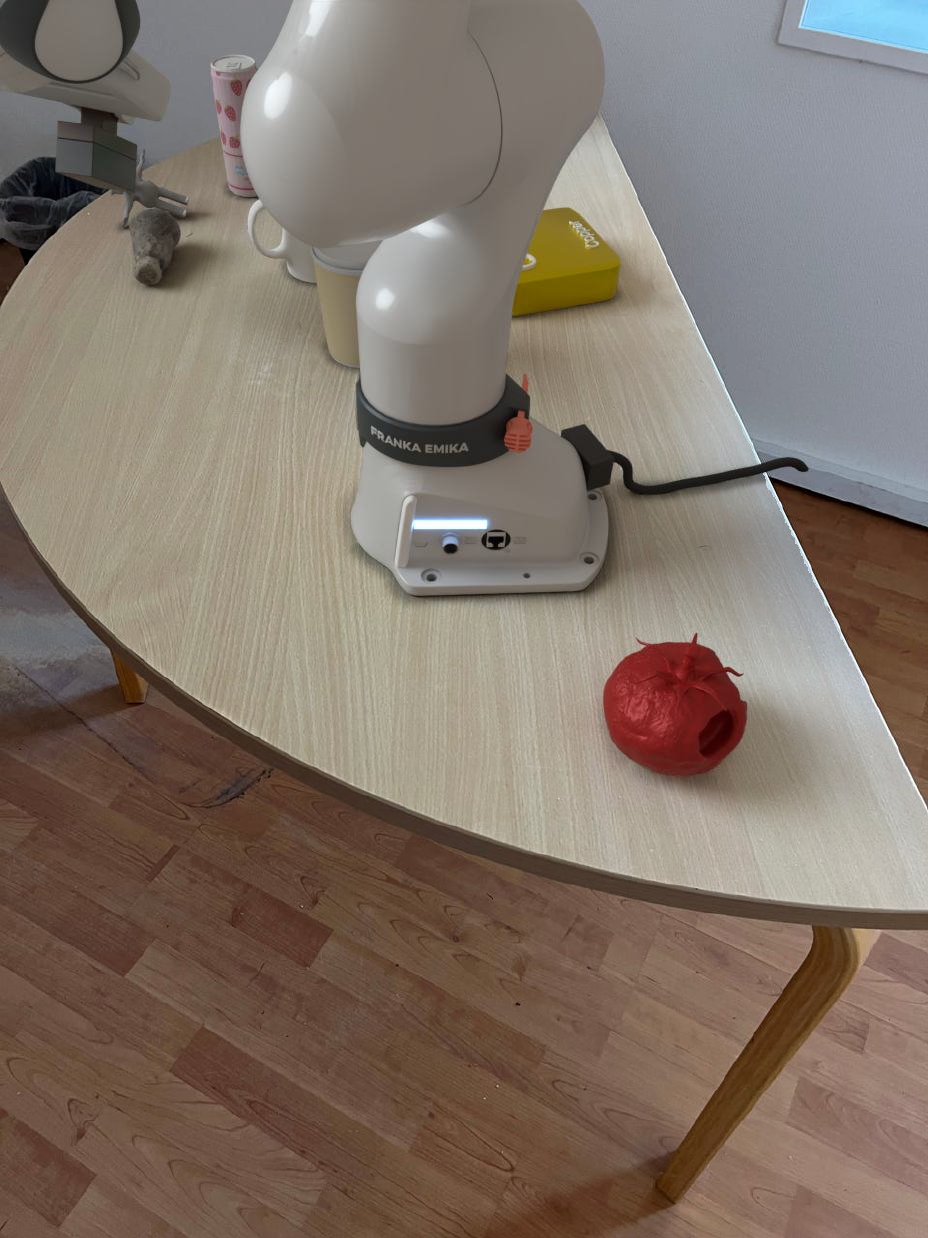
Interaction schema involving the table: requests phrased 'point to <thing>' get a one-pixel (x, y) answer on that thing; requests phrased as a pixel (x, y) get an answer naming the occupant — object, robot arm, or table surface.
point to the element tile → (565, 265)
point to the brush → (96, 152)
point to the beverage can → (233, 115)
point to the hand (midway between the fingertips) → (112, 112)
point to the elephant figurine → (150, 195)
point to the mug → (285, 249)
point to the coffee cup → (341, 296)
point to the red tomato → (674, 708)
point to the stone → (153, 243)
